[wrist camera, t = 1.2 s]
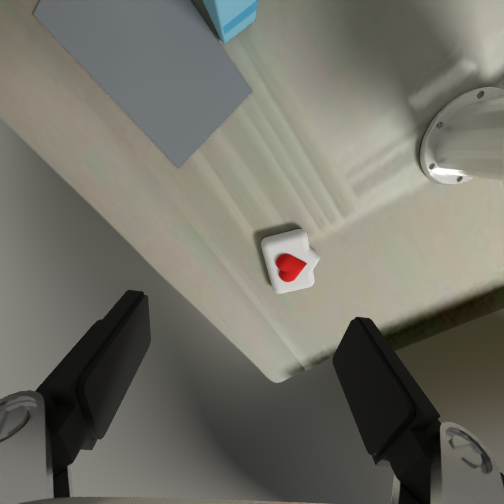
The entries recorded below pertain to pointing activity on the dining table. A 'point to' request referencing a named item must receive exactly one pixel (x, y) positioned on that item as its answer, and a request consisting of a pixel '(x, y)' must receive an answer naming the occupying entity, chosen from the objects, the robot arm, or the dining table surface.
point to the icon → (289, 260)
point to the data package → (231, 16)
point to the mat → (152, 65)
